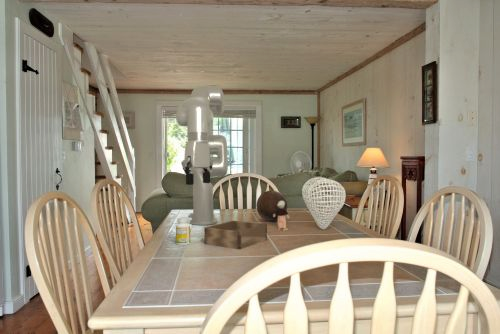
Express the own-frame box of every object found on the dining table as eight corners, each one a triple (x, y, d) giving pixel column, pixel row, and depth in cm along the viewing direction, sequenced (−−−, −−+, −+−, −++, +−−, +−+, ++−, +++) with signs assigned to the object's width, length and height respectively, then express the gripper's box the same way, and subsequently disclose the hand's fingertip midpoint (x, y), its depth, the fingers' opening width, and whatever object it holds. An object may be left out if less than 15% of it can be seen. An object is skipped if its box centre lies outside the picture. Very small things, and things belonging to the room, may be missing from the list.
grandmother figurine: (291, 229, 174) (290, 200, 174) (289, 231, 171) (288, 201, 170) (274, 228, 177) (273, 199, 176) (271, 230, 173) (271, 200, 173)
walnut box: (204, 243, 148) (204, 227, 148) (233, 235, 163) (233, 220, 163) (239, 249, 139) (239, 232, 139) (266, 239, 154) (266, 224, 154)
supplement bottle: (182, 246, 145) (181, 219, 145) (172, 244, 149) (172, 218, 148) (193, 243, 149) (193, 217, 149) (184, 241, 153) (183, 216, 152)
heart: (350, 235, 160) (350, 180, 159) (311, 236, 159) (311, 180, 158) (332, 223, 188) (332, 176, 187) (299, 223, 187) (299, 176, 186)
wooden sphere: (293, 221, 194) (293, 190, 194) (268, 224, 186) (268, 192, 185) (274, 217, 207) (274, 188, 206) (250, 220, 198) (250, 190, 198)
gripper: (204, 139, 159) (205, 182, 160) (174, 137, 145) (175, 185, 145) (219, 138, 155) (220, 182, 156) (190, 136, 141) (190, 185, 141)
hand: (198, 183), depth 150 cm, fingers open, 9 cm apart
